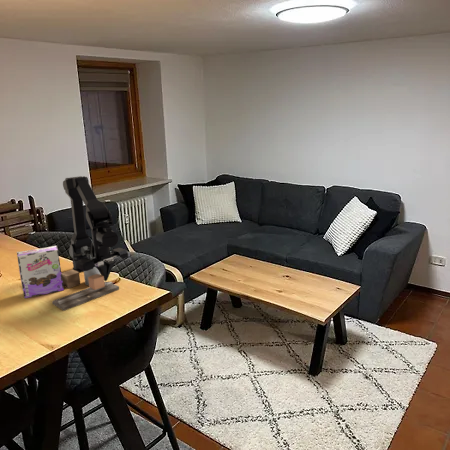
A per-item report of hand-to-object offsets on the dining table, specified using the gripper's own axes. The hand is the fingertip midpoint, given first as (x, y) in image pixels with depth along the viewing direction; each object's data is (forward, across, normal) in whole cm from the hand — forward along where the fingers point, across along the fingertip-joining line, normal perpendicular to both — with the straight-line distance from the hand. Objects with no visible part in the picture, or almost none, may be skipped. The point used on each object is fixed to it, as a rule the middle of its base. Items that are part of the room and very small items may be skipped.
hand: (105, 280), depth 157 cm
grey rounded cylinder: (+4, 0, -10) cm, 11 cm away
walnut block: (+4, +6, -15) cm, 17 cm away
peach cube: (+1, +4, 0) cm, 4 cm away
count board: (+4, +8, 0) cm, 9 cm away
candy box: (+4, +16, -17) cm, 24 cm away
